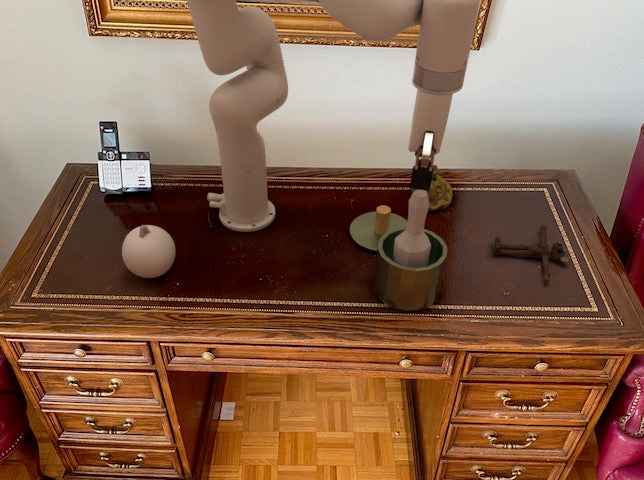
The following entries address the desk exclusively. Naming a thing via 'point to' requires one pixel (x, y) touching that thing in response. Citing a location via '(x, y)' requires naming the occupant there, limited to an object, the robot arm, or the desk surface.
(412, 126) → the robot arm
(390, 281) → the tin
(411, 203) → the low poly bottle
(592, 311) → the desk surface
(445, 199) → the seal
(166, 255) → the ornament
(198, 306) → the desk surface
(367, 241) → the lid
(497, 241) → the brown thin branching figure
